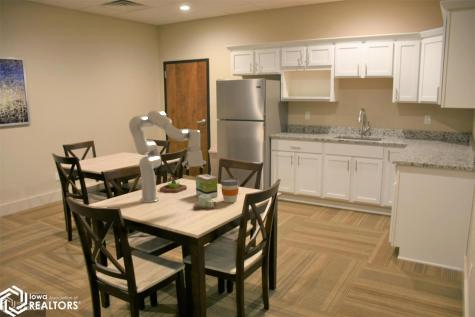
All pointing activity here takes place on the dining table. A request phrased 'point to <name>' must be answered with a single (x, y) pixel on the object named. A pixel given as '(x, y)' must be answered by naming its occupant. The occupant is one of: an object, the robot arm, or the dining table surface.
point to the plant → (173, 187)
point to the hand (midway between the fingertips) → (194, 174)
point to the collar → (205, 201)
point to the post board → (199, 207)
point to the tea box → (206, 185)
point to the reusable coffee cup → (230, 189)
